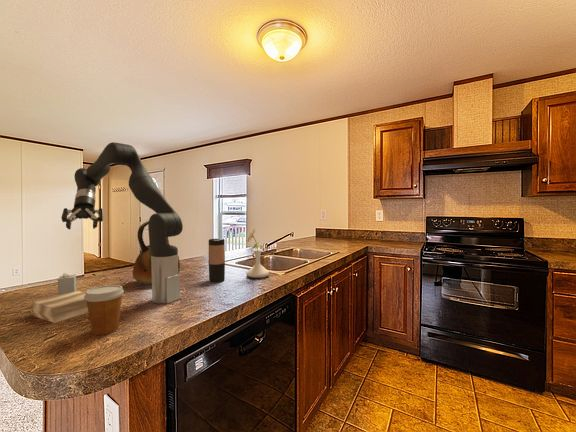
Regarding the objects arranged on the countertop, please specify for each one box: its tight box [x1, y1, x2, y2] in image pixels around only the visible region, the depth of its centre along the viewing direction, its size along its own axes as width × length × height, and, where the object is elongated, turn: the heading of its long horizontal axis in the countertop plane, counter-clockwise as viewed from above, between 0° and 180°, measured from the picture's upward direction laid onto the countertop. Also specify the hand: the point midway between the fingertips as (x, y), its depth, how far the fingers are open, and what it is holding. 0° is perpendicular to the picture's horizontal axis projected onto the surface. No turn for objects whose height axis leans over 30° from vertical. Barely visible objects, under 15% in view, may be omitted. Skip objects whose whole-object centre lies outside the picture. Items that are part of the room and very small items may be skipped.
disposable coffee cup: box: [84, 284, 125, 336], centre depth 79 cm, size 10×10×12 cm
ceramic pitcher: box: [132, 220, 181, 285], centre depth 129 cm, size 20×20×30 cm
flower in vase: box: [246, 228, 270, 279], centre depth 138 cm, size 13×11×25 cm
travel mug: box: [208, 238, 226, 284], centre depth 132 cm, size 8×8×20 cm
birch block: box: [32, 290, 89, 324], centre depth 92 cm, size 13×13×5 cm
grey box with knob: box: [57, 272, 77, 296], centre depth 105 cm, size 6×6×10 cm
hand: (81, 227), depth 115 cm, fingers open, 8 cm apart
